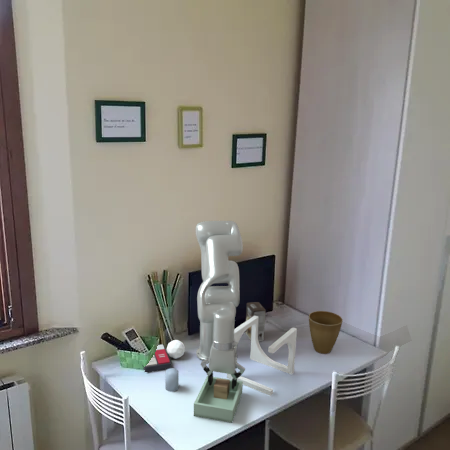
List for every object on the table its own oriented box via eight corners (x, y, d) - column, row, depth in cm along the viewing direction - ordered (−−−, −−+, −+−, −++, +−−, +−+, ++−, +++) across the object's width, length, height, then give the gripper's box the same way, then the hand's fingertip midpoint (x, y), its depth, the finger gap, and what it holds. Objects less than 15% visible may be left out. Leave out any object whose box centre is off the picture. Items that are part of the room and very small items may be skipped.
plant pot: (342, 359, 206) (346, 325, 202) (308, 357, 206) (311, 324, 202) (335, 342, 221) (338, 310, 216) (304, 341, 221) (306, 309, 217)
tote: (207, 387, 183) (207, 375, 182) (242, 392, 180) (242, 381, 179) (193, 416, 166) (193, 403, 165) (232, 422, 163) (232, 410, 162)
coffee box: (244, 333, 226) (246, 302, 222) (257, 332, 228) (258, 301, 224) (251, 342, 218) (252, 310, 214) (264, 341, 220) (266, 309, 216)
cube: (216, 389, 180) (217, 378, 179) (229, 391, 179) (229, 380, 178) (213, 397, 175) (213, 385, 174) (226, 399, 174) (227, 387, 173)
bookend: (293, 372, 195) (297, 328, 190) (270, 396, 179) (273, 348, 174) (252, 357, 206) (254, 315, 200) (226, 378, 190) (228, 333, 184)
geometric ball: (172, 364, 203) (162, 354, 199) (174, 349, 209) (164, 339, 205) (187, 358, 201) (177, 348, 197) (188, 344, 207) (178, 333, 203)
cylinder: (168, 383, 185) (168, 367, 183) (180, 385, 184) (180, 369, 182) (163, 390, 180) (163, 374, 178) (176, 392, 179) (176, 376, 177)
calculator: (144, 365, 190) (138, 346, 204) (145, 375, 192) (138, 354, 205) (171, 361, 194) (163, 342, 207) (171, 370, 195) (163, 351, 209)
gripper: (248, 341, 173) (246, 383, 178) (203, 335, 177) (202, 376, 181) (244, 351, 166) (243, 394, 171) (197, 344, 170) (197, 387, 174)
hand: (222, 385), depth 176 cm, fingers open, 8 cm apart
